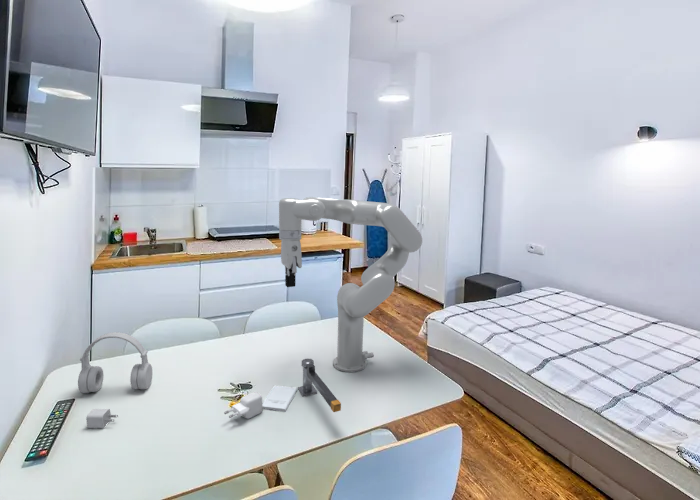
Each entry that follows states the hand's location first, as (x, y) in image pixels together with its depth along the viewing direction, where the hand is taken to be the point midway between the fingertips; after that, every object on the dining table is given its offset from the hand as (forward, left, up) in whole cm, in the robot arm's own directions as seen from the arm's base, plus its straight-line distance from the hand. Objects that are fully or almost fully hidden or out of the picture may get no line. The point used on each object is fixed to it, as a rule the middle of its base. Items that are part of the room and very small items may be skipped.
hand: (290, 286), depth 142 cm
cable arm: (-1, +27, -25) cm, 37 cm away
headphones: (+56, -9, -32) cm, 65 cm away
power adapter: (+21, +22, -32) cm, 45 cm away
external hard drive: (+9, +17, -33) cm, 38 cm away
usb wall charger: (+58, +11, -32) cm, 67 cm away
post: (-1, +16, -32) cm, 36 cm away
